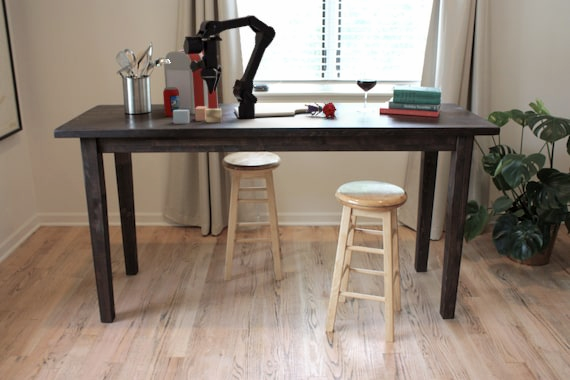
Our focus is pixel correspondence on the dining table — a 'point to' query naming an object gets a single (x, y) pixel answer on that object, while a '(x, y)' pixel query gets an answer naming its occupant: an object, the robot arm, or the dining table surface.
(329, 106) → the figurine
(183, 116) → the gray block
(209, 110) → the maple block
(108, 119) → the dining table surface
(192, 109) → the striped red arch
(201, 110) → the terracotta block
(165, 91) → the beverage can
